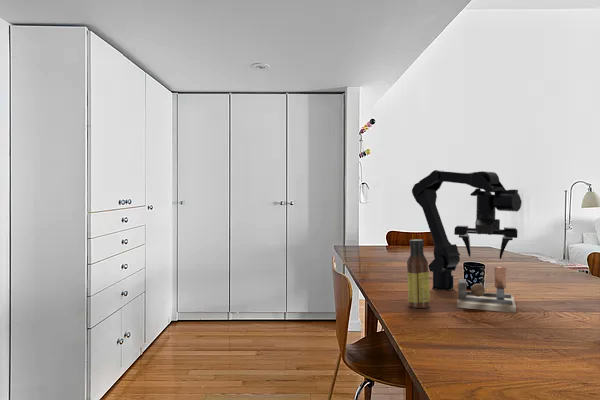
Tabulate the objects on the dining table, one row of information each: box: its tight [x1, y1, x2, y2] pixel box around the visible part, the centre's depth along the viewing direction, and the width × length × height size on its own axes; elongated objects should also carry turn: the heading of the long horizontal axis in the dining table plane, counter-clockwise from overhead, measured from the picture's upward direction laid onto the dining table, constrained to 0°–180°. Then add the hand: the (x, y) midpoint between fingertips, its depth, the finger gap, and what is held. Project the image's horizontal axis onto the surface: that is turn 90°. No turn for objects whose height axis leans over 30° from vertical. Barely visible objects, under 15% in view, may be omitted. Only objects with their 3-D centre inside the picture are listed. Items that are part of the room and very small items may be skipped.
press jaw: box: [493, 266, 507, 300], centre depth 134 cm, size 3×6×10 cm, turn 157°
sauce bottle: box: [406, 238, 431, 309], centre depth 132 cm, size 6×6×20 cm
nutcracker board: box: [456, 278, 517, 314], centre depth 135 cm, size 16×16×6 cm
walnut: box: [470, 283, 486, 297], centre depth 136 cm, size 4×4×4 cm
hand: (484, 257), depth 145 cm, fingers open, 9 cm apart
